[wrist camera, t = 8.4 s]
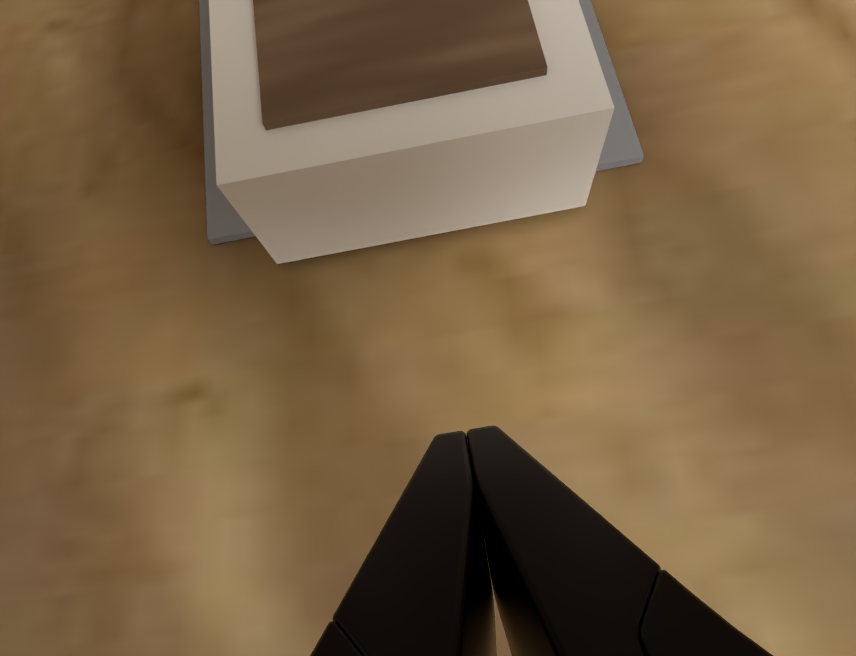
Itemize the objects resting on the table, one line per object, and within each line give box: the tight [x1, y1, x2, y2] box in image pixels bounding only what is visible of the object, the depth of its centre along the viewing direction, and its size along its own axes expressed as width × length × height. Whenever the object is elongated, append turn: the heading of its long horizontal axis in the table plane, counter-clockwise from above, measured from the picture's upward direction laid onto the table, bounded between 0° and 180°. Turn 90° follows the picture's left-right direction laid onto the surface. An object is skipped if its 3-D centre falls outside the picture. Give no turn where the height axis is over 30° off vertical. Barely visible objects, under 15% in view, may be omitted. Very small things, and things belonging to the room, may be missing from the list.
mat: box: [199, 0, 644, 245], centre depth 24 cm, size 16×16×1 cm
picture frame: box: [209, 0, 614, 264], centre depth 21 cm, size 5×11×14 cm
